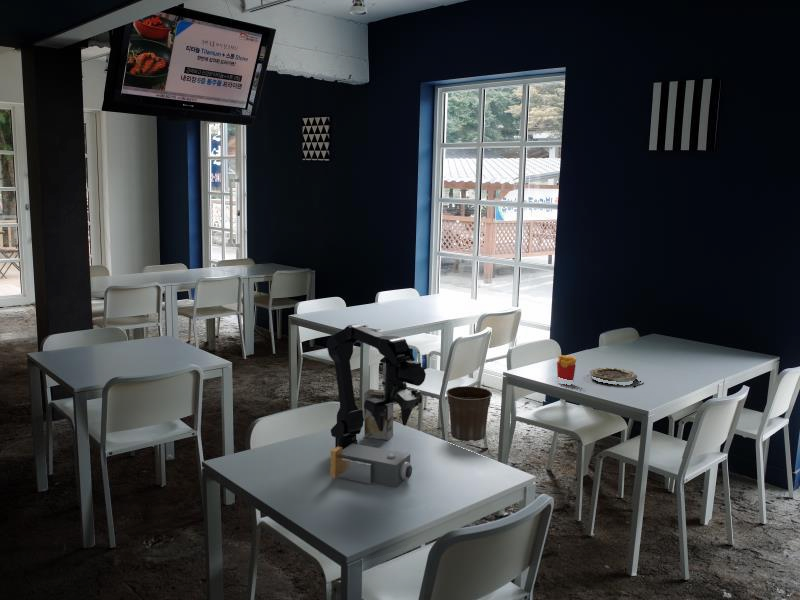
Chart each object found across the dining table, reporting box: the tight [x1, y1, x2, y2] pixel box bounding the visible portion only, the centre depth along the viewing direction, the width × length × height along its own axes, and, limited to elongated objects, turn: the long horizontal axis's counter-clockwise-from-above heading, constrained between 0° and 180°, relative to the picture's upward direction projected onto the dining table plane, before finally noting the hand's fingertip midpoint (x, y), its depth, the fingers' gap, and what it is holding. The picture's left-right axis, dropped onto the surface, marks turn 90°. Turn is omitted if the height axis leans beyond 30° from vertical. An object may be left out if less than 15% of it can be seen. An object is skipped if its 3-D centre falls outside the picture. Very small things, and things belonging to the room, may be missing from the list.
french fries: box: [556, 354, 577, 381], centre depth 327 cm, size 9×4×13 cm, turn 43°
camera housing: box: [342, 444, 413, 489], centre depth 215 cm, size 22×10×8 cm, turn 65°
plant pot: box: [445, 385, 493, 442], centre depth 253 cm, size 16×16×16 cm
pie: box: [589, 367, 638, 382], centre depth 335 cm, size 28×27×5 cm
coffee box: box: [363, 388, 394, 441], centre depth 251 cm, size 9×6×16 cm
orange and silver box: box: [330, 447, 373, 485], centre depth 210 cm, size 11×5×10 cm, turn 65°
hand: (392, 428), depth 218 cm, fingers open, 9 cm apart
